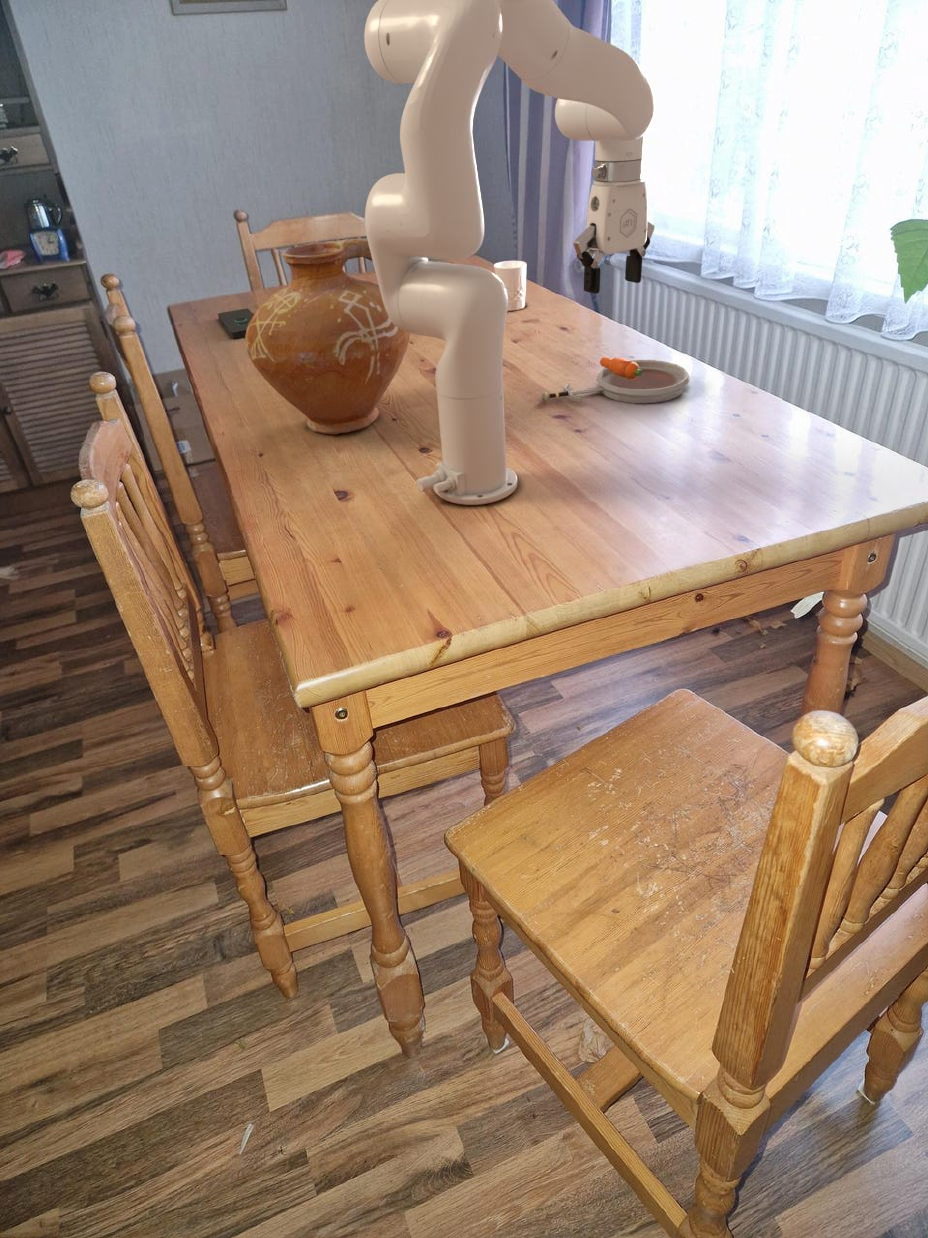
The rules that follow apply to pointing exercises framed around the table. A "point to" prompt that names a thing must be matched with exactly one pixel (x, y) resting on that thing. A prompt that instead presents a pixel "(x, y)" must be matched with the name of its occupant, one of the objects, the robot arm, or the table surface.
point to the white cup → (513, 282)
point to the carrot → (621, 367)
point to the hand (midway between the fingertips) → (612, 286)
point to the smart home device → (236, 322)
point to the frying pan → (636, 384)
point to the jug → (327, 339)
